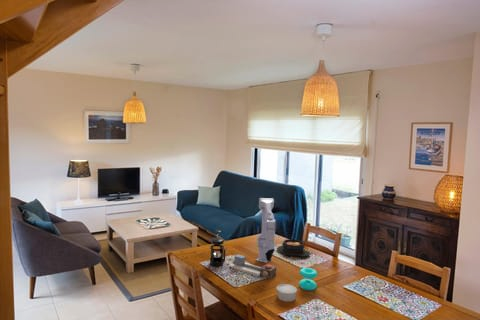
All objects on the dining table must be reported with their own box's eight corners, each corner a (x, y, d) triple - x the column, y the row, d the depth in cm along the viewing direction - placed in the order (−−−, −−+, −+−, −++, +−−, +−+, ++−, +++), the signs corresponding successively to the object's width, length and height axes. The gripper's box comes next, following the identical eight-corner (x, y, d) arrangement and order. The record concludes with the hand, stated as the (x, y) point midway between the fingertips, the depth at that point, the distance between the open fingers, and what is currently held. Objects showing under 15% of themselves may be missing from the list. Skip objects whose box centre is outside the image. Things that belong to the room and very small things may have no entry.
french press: (205, 264, 218) (206, 230, 216) (214, 260, 226) (215, 227, 224) (219, 269, 211) (221, 234, 209) (228, 264, 219) (229, 230, 217)
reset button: (266, 271, 208) (267, 264, 207) (272, 273, 206) (272, 265, 205) (263, 273, 204) (264, 266, 204) (269, 275, 202) (269, 267, 202)
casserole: (272, 252, 245) (272, 241, 244) (283, 246, 260) (284, 235, 259) (303, 261, 231) (304, 249, 230) (313, 253, 246) (314, 242, 245)
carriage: (237, 262, 219) (237, 254, 219) (245, 264, 216) (245, 256, 216) (234, 263, 216) (234, 256, 215) (242, 266, 213) (242, 258, 212)
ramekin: (282, 290, 186) (283, 281, 185) (300, 297, 179) (300, 288, 178) (271, 297, 177) (272, 288, 177) (289, 305, 170) (290, 295, 170)
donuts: (312, 266, 196) (320, 273, 187) (311, 282, 197) (319, 290, 188) (297, 267, 194) (304, 274, 184) (296, 284, 195) (303, 292, 185)
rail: (237, 262, 223) (237, 258, 223) (266, 270, 211) (266, 266, 211) (229, 267, 215) (229, 262, 214) (258, 276, 203) (258, 271, 203)
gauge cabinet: (266, 271, 210) (266, 264, 210) (275, 274, 206) (276, 266, 206) (259, 276, 203) (260, 268, 203) (269, 279, 200) (270, 271, 199)
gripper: (268, 235, 211) (267, 255, 212) (259, 241, 199) (258, 263, 200) (278, 237, 208) (277, 257, 209) (269, 243, 195) (268, 265, 196)
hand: (268, 260), depth 204 cm, fingers closed
